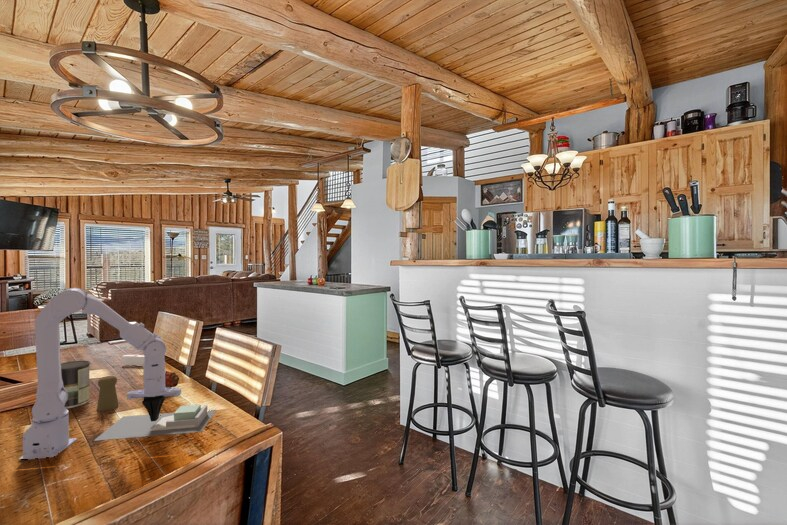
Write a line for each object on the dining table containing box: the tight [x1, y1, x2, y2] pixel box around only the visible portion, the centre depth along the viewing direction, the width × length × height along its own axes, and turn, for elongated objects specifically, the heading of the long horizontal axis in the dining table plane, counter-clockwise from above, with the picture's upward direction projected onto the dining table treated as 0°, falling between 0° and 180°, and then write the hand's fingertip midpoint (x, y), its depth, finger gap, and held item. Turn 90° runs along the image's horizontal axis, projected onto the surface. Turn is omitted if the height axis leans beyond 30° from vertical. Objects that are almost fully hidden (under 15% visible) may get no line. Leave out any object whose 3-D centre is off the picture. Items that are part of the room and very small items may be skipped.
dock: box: [93, 405, 217, 442], centre depth 114 cm, size 16×28×4 cm, turn 101°
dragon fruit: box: [165, 370, 180, 388], centre depth 142 cm, size 8×8×12 cm
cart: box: [173, 404, 202, 420], centre depth 116 cm, size 6×7×3 cm
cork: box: [96, 375, 119, 412], centre depth 126 cm, size 6×6×11 cm
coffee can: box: [61, 360, 91, 410], centre depth 130 cm, size 10×10×14 cm
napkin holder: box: [121, 354, 144, 366], centre depth 175 cm, size 15×11×6 cm
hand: (154, 419), depth 114 cm, fingers closed
